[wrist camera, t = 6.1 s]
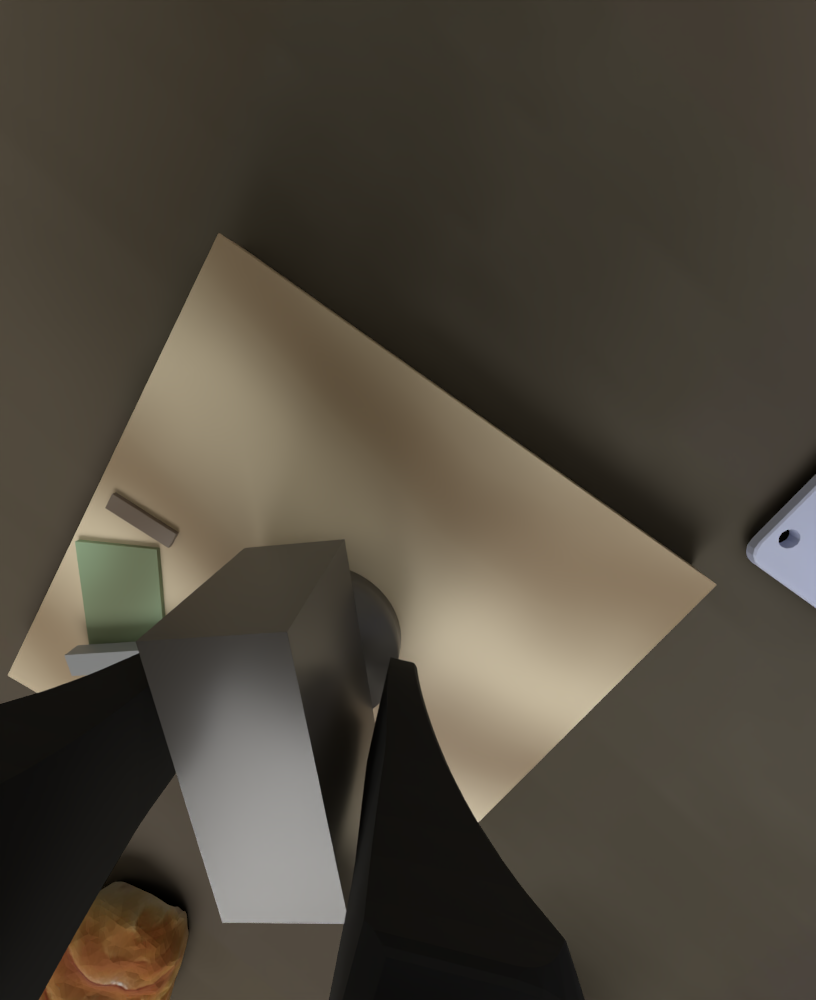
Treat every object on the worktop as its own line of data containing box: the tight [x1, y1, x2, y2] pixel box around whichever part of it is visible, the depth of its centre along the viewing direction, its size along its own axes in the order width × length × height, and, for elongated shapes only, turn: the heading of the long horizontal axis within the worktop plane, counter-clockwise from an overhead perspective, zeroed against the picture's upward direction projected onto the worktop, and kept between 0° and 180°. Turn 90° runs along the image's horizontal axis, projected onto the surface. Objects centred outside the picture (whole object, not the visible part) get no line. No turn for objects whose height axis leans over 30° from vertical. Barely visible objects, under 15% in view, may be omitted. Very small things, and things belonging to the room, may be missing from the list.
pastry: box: [39, 882, 189, 1000], centre depth 18 cm, size 9×7×4 cm
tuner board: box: [8, 233, 716, 822], centre depth 14 cm, size 15×15×1 cm
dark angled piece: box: [64, 539, 401, 924], centre depth 11 cm, size 10×6×5 cm, turn 97°
